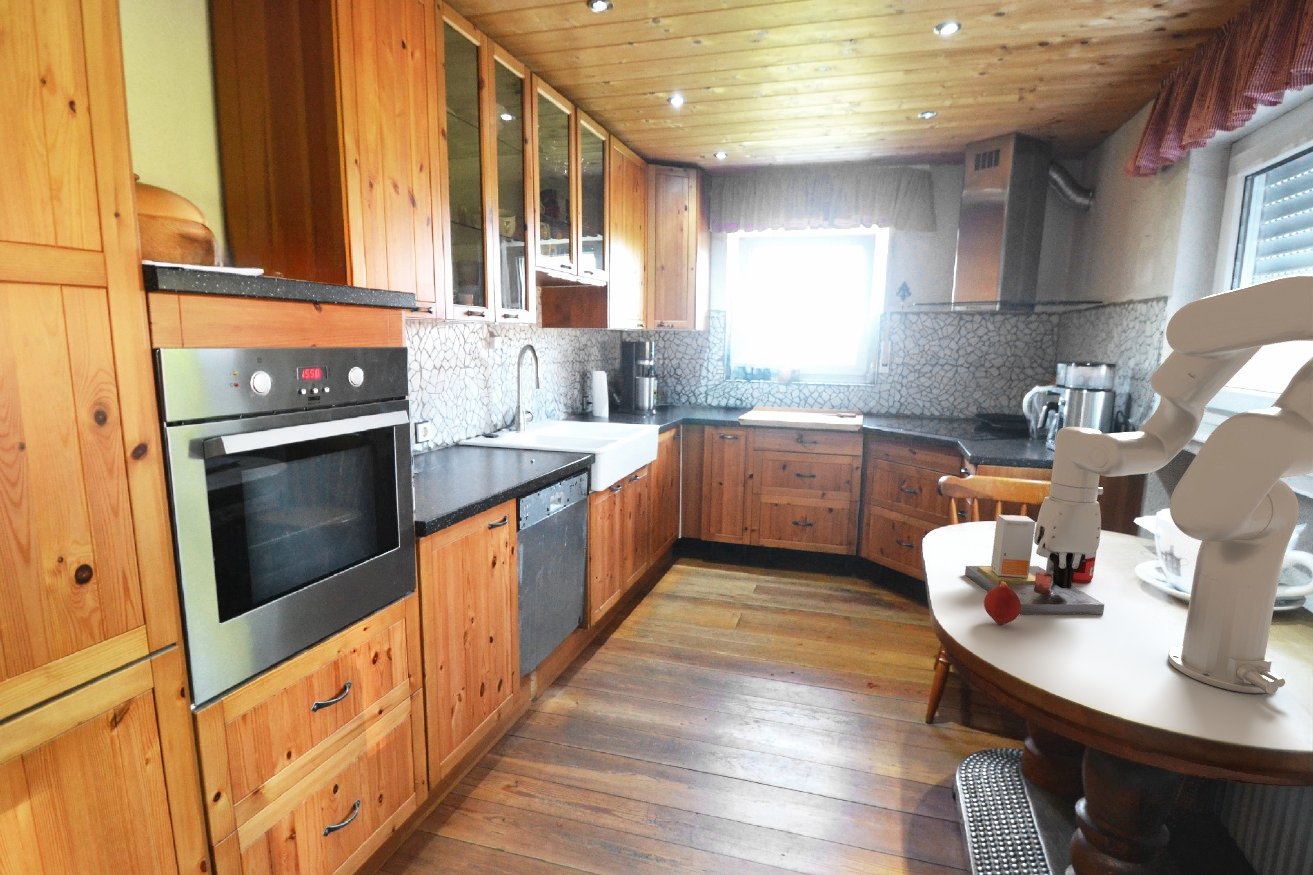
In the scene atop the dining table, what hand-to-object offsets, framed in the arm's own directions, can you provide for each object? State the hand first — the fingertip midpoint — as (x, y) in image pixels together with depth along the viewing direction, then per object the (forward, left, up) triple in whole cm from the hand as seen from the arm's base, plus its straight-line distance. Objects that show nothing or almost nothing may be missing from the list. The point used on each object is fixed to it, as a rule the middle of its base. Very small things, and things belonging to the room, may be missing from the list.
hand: (1061, 585), depth 126 cm
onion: (-9, +17, -4) cm, 19 cm away
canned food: (+14, -12, -4) cm, 19 cm away
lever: (+1, +2, -1) cm, 3 cm away
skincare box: (+9, +5, -1) cm, 10 cm away
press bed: (+5, +3, -4) cm, 7 cm away
